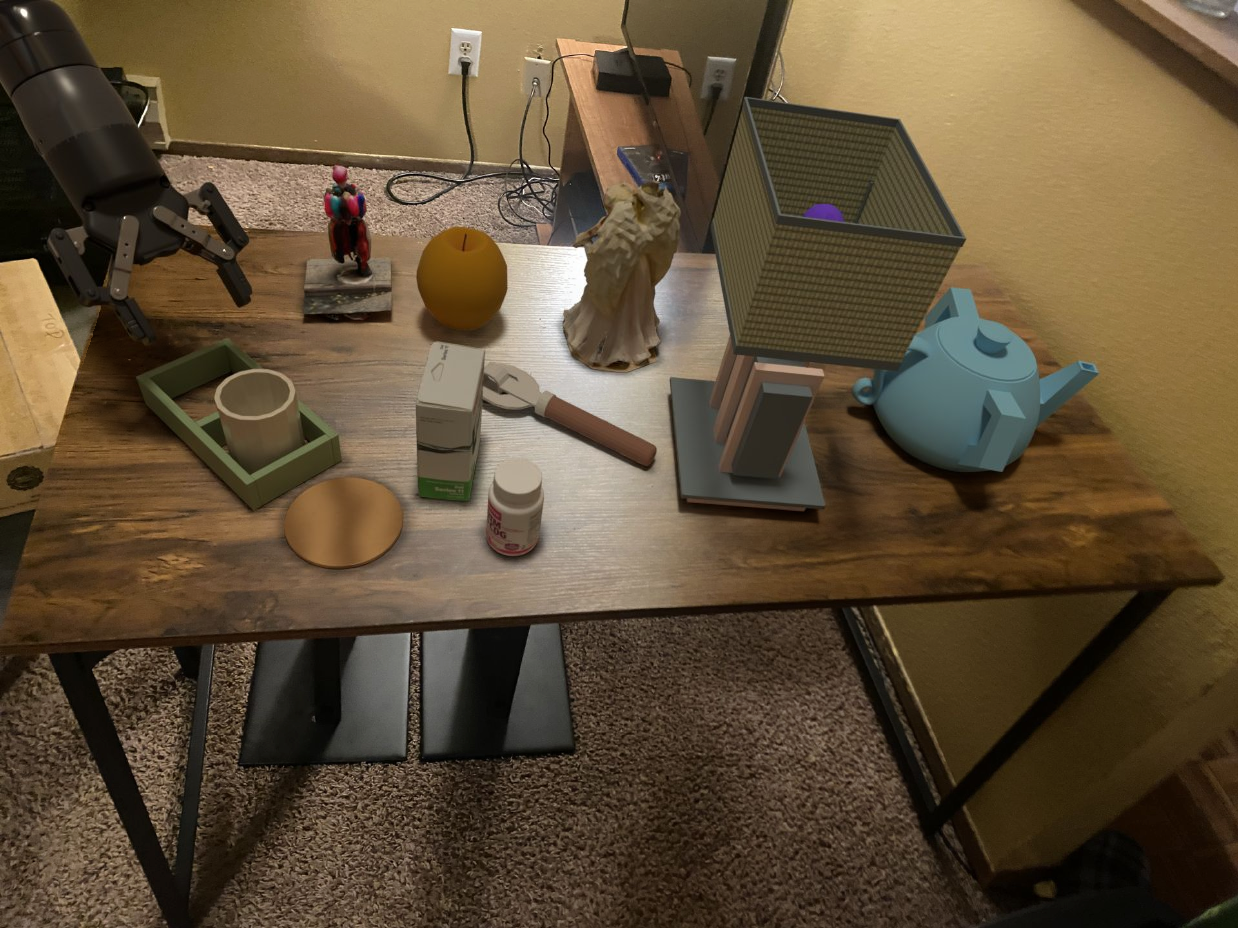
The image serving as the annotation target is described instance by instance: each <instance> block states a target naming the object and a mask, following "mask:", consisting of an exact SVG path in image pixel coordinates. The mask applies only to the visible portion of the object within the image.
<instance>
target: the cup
mask: <svg viewBox="0 0 1238 928" xmlns="http://www.w3.org/2000/svg"><path fill="white" fill-rule="evenodd" d="M213 399H214V403H215V407H216V412H217V411H218V414H219V418H220V422H221V425H222V429H223V432H224V436H225V440H226V443H227V444H226V447H227V451H228V455H229V456H230V457H231V458H232V459H233V460H235V461H236V462H237V463H238V464H239V465H240V466H241V467H242V468H243V469H244V470H245V471H246V472H247V473H248V474H249V475H251V474H253V473H255V472H257V471H258V470H260V469H262V468H264V467H266V466H268V465H270V464H271V463H273V462H275V461H277V460H279V459H281V458H283V457H284V456H286V455H288V454H290V453H292V452H294V451H295V450H297V449H299V448H301V447H303V446H305V445H306V441H305V437H304V435H303V429H302V424H301V418H300V413H299V407H298V401H297V399H298V397H297V391H296V388H295V385H294V383H293V381H292V379H290V378H289V377H288V376H286V375H285V374H284V373H281V372H279V371H275V370H272V369H266V368H263V369H251V370H246V371H241V372H238V373H236V374H234V373H233V374H232V375H230V376H227V377H226V378H225V379H223V381H222V382H220V384H219V385H218V386H217V387H216V390H215V393H214V396H213Z"/></svg>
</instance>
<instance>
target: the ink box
mask: <svg viewBox="0 0 1238 928" xmlns="http://www.w3.org/2000/svg"><path fill="white" fill-rule="evenodd" d="M485 357H486V350H485V349H484V348H480V347H474V346H470V345H469V346H468V345H463V344H457V343H451V342H450V343H449V342H442V341H434V342H432V343H431V345H430V349H429V351H428V355H427V358H426V363H425V366H424V369H423V373H422V377H421V381H420V383H419V387H418V392H417V395H416V399H415V428H416V429H415V434H416V468H417V470H416V471H417V493H418V495H419V497H420V498H427V499H428V498H429V499H439V500H448V501H449V500H450V501H464V502H465V501H466V502H468V501H469V500H470V497H471V492H472V487H473V482H474V476H475V470H476V465H477V460H478V454H479V448H480V442H481V434H482V416H483V414H482V413H483V399H482V398H483V379H484V367H485V362H486V361H485V360H486V358H485Z"/></svg>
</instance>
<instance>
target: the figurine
mask: <svg viewBox="0 0 1238 928" xmlns="http://www.w3.org/2000/svg"><path fill="white" fill-rule="evenodd" d="M660 185H661V182H659V180H654V181H648V182H644V183H642V184H641V185H640V186H639V187H638V188H635V187H634V185H632V184H631V183H630V182H623V181H618V182H616V183H615V184H613V185H611V186H608V187H607V188H606V191H605V194H604V197H603V198H602V202H603V207H604V209H605V210H606V211H607V214H606V215H605V216H602V217H601V218H600V219H599V221H598V222H597V223H596V224H595V225H594V226H592V227H590V228H589V229H588V230H586V231H582V232H580V233H578V234H577V236H576V238H575V239H574V242H573V245H572V247H573V248H575V249H578V248H580V247H581V248H582V247H583V249H584V253H585V257H586V263H585V266H584V268H583V276H584V277H585V282H586V285H585V286H584V288H583V293H582V295H581V297H580V300H579V301H578V302H576V303H574V305H572V307H570V308H569V309H563V313H562V316H563V318H564V322H563V324H562V327H563V330H564V334H565V337H566V341H567V342H566V344H567V346H568V348H569V351H570V353H571V356H573V358H575V359H577V360H578V361H580V362H581V363H583V364H584V365H586V366H587V367H589V368H590V369H592V370H596V371H597V370H599V371H606V372H614V373H615V372H616V373H624V374H625V373H629V372H631V371H634V370H637V369H640V368H642V367H645V366H647V365H650V364H653V363H655V362H656V363H657V362H658V358H657V354H656V352H655V351H656V350H655V348H654V347H656V346H658V345H659V344H661V339H660V337H659V335H658V333H657V330H656V329H657V327H658V326H659V325H660V324H661V320H660V318H659V317H658V315H657V312H656V308H655V298H656V294H657V293H656V287H657V285H658V284H659V283H660V282H661V281H663V279H664V278H665V276H666V274H667V273H668V272H669V270H670V269H671V267H672V262H673V259H674V256H675V254H676V253H677V250H678V246H679V244H680V235H679V233H680V231H681V224H680V222H679V221H680V220H679V218H680V217H681V214H682V213H681V208H680V207H679V205H678V204H677V203H676V202H675V199H674V197H673V194H672V193H671V192H670V191H669V189H668V186H667V185H664V190H663V188H662V187H661V186H660ZM594 238H596V239H595V241H593V239H594ZM618 361H619V362H618Z"/></svg>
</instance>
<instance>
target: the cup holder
mask: <svg viewBox="0 0 1238 928" xmlns="http://www.w3.org/2000/svg"><path fill="white" fill-rule="evenodd" d="M251 369H264V368H263V366H261V365H260V364H259V363H257V362H256V361H255V360H254V359H253V358H252V357H251V356H250V355H248V354H247V353H246V352H245V351H244V350H243V349H242V348H241V347H240V346H238V345H237V344H236V343H235V342H234V341H233V340H231V339H230V338H229V337H226V338H224V339H221V340H219V341H217V342H214V343H212V344H209V345H207V346H205V347H202V348H200V349H198V350H195V351H193V352H191V353H189V354H186V355H184V356H181V357H179V358H177V359H174V360H172V361H170V362H167V363H165V364H163V365H160V366H158V367H156V368H154V369H151V370H149V371H146V372H143V373H141V374H140V375H137V376H136V380H137V383H138V386H139V390H140V392H141V395H142V398H143V400H144V403H145V405H146V406H147V407H148V408H149V409H150V410H151V411H152V412H153V413H154V414H155V415H156V416H158V418H160V420H161V421H162V422H163V423H164V424H165V425H166V426H167V427H168V428H170V430H172V432H174V433H175V435H177V436H178V437H179V439H181V441H182V442H184V444H185V445H187V447H188V448H189V449H190V450H192V452H194V453H195V455H196V456H198V457H199V458H200V460H202V461H203V462H204V464H206V465H207V466H208V467H209V469H211V470H212V471H213V472H214V473H215V474H216V475H217V476H218V477H219V478H220V480H222V481H223V482H224V483H225V484H226V485H227V486H228V487H229V488H230V489H231V490H232V491H233V492H234V493H235V494H236V495H237V496H238V497H239V498H240V499H241V500H242V501H243V502H244V503H245V505H247V506H248V507H249V508H250V509H251V510H252V511H256V510H257V509H259V508H261V507H262V506H264V505H266V504H267V503H270V502H271V501H273V500H274V499H277V498H278V497H280V496H283V494H286V493H287V492H289V491H291V490H292V489H294V488H296V487H297V486H299V485H300V484H303V483H304V482H306V481H308V480H310V479H311V478H314V477H315V476H317V475H319V474H320V473H322V472H324V471H325V470H328V469H329V468H331V467H333V466H334V465H337V464H338V463H340V462H342V461H343V458H342V452H341V451H342V450H341V444H340V437H339V434H338V433H337V432H336V431H335V429H333V428H331V427H330V425H328V424H327V423H326V422H325V421H324V420H323V419H321V418H320V417H319V416H318V415H317V414H315V413H314V412H313V411H312V410H311V409H310V408H309V407H308V406H306V405H305V403H303V402H302V401H301V400H300V399H298V398H297V401H298V407H299V413H300V418H301V424H302V429H303V435H304V439H306V440H307V441H309V442H308V443H306V444H305V446H303V447H301V448H299V449H297V450H295V451H294V452H292V453H290V454H288V455H286V456H284V457H283V458H281V459H279V460H277V461H275V462H273V463H271V464H270V465H268V466H266V467H264V468H262V469H260V470H258V471H257V472H255V473H253V474H251V475H249V474H248V473H247V472H246V471H245V470H244V469H243V468H242V467H241V466H240V465H239V464H238V463H237V462H236V461H235V460H233V459H232V458H231V457H230V454H229V453H228V452H226V451H225V450H224V449H223V447H224V446H225V445H227V443H226V440H225V436H224V432H223V429H222V425H221V422H220V418H219V414H218V411H217V410H216V411H215V412H213V413H211V414H209V415H207V416H205V417H202V418H200V419H199V420H196V421H195V420H193V419H192V418H191V416H189V415H188V414H187V413H186V412H185V411H184V410H183V409H182V408H181V407H180V406H179V405H178V404H177V403H176V402H175V401H174V400H173V399H174V398H176V397H178V396H181V395H183V394H185V393H187V392H190V391H192V390H194V389H196V388H198V387H200V386H203V385H205V384H207V383H210V382H211V381H212V382H213V380H216V379H218V378H220V377H222V376H225V375H227V374H229V373H233V375H234V374H236V373H238V372H241V371H246V370H251Z"/></svg>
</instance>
